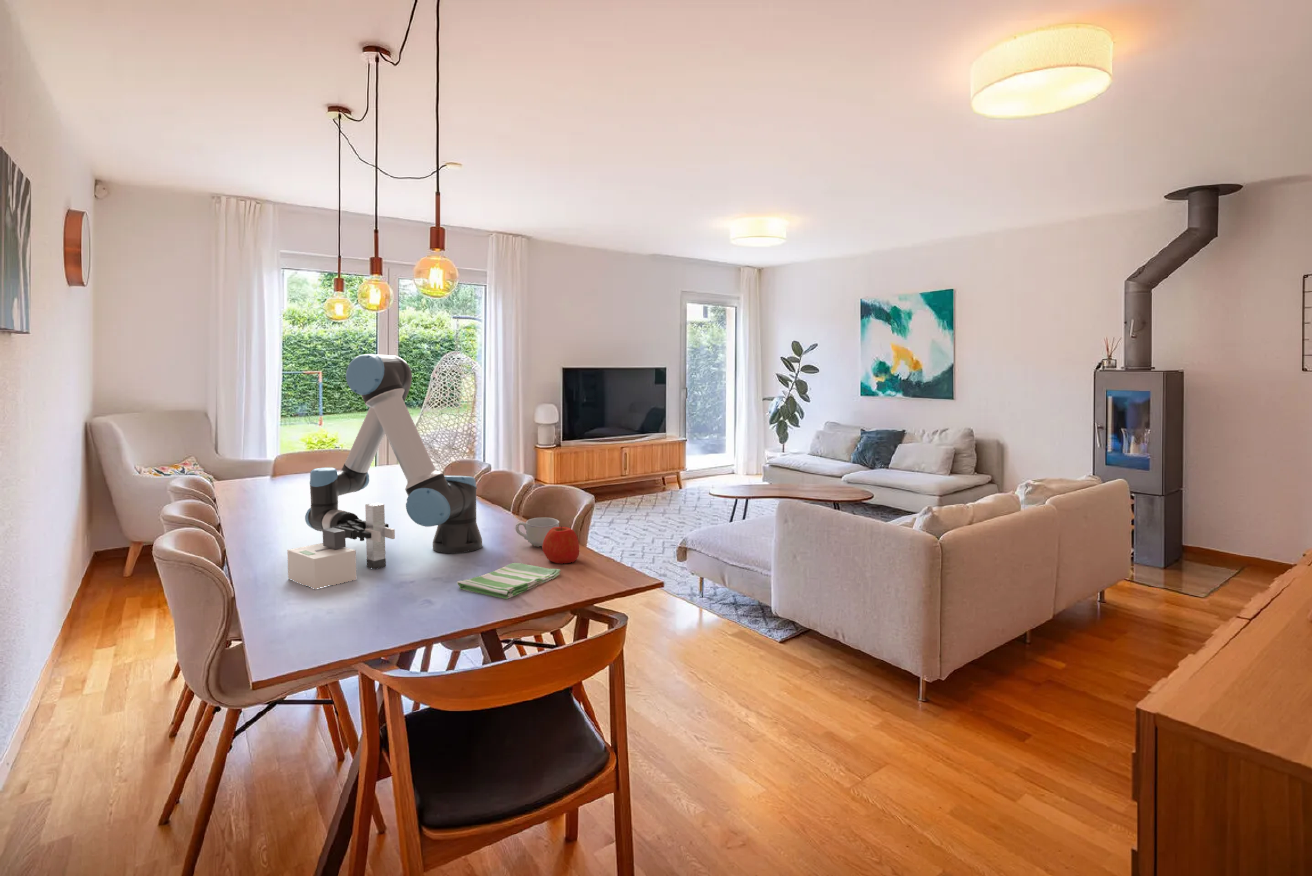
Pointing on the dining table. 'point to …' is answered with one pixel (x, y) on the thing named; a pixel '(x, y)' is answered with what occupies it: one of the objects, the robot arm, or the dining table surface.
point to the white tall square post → (377, 523)
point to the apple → (561, 545)
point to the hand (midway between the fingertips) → (386, 535)
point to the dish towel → (509, 580)
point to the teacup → (537, 529)
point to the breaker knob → (334, 538)
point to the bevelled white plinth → (321, 565)
